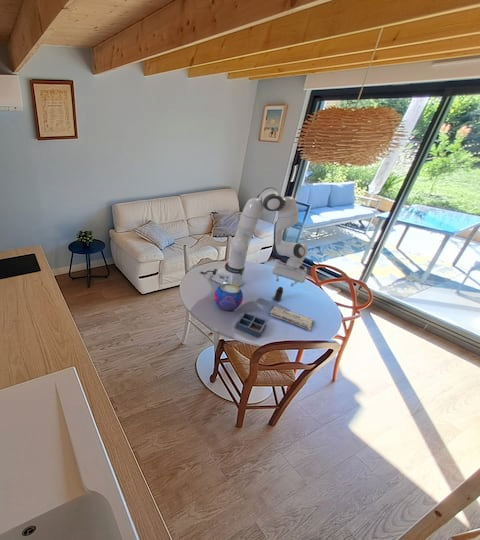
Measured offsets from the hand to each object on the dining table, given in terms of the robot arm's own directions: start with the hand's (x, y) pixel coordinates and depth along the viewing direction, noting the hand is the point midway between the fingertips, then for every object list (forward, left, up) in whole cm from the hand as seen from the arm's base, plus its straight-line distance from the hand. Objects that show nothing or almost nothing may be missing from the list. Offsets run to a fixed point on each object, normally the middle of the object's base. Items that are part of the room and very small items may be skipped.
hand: (284, 283), depth 193 cm
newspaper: (+11, -23, -10) cm, 28 cm away
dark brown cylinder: (-1, -6, -10) cm, 12 cm away
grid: (-6, -46, -10) cm, 48 cm away
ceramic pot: (-25, -36, -10) cm, 45 cm away
